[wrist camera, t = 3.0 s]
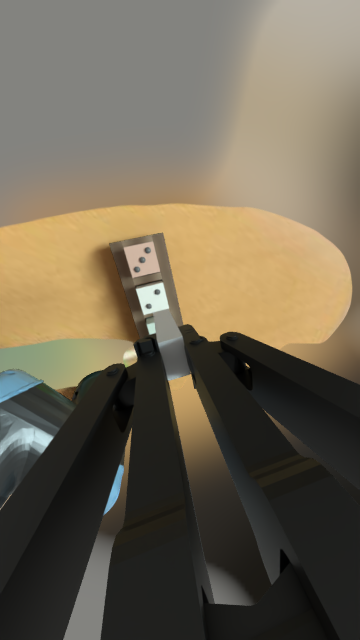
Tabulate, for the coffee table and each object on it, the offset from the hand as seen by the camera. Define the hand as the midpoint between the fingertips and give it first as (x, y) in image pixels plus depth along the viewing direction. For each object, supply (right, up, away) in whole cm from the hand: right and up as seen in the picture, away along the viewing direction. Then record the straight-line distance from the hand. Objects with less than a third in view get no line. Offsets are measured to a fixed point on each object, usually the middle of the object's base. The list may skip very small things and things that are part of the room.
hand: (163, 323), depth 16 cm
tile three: (-6, +12, +17) cm, 22 cm away
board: (-5, +7, +22) cm, 24 cm away
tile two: (-4, +6, +20) cm, 21 cm away
